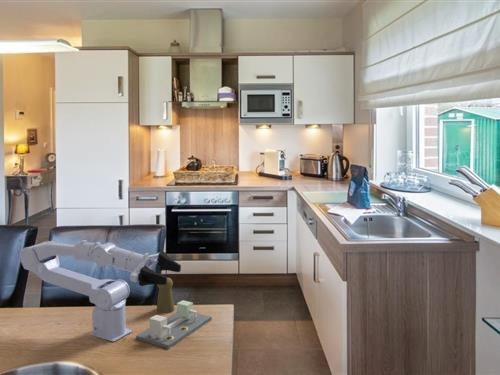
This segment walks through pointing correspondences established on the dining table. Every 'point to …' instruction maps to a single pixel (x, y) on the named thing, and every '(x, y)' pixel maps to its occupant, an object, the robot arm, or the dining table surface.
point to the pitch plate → (171, 329)
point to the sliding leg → (185, 309)
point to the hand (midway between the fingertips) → (173, 274)
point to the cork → (165, 298)
